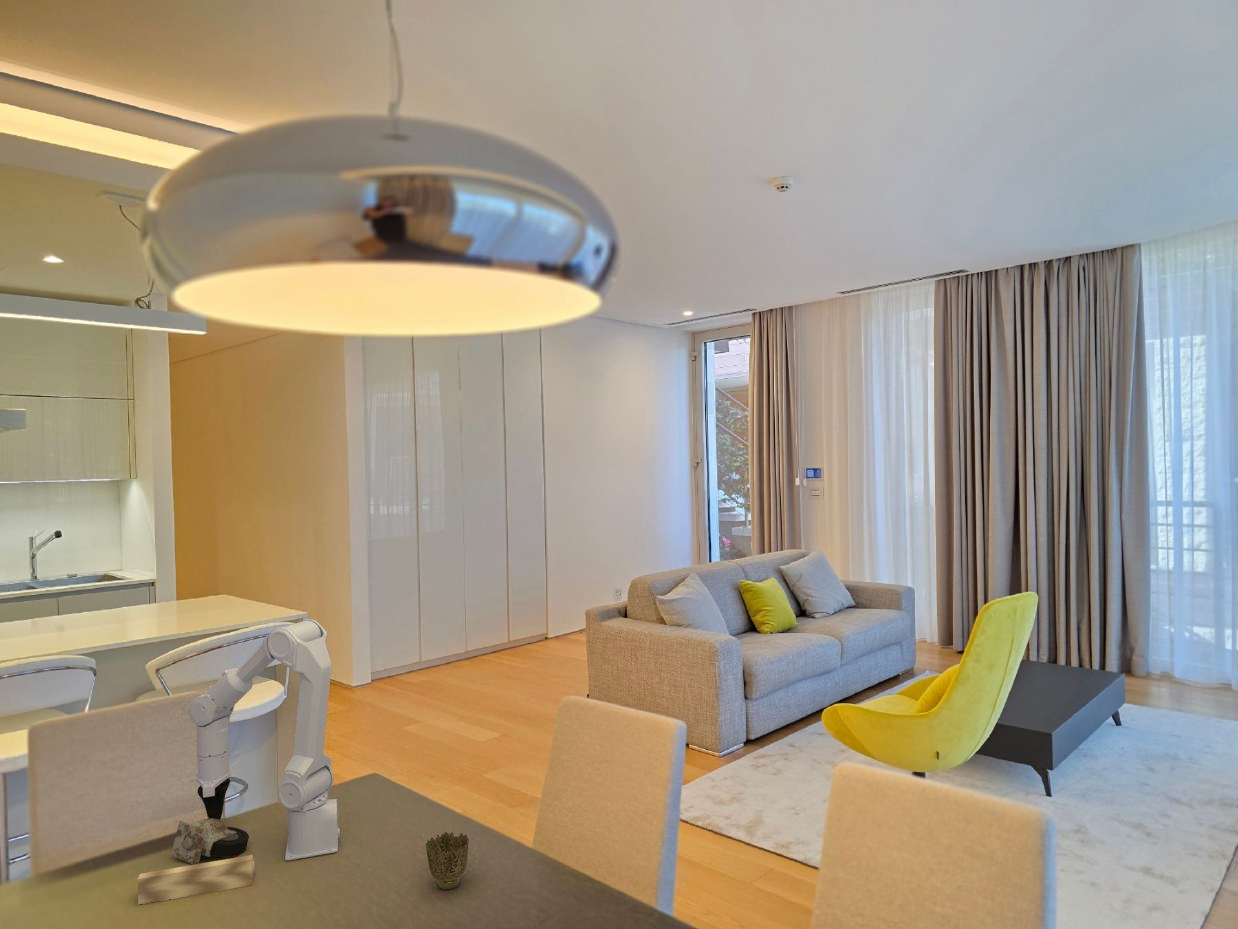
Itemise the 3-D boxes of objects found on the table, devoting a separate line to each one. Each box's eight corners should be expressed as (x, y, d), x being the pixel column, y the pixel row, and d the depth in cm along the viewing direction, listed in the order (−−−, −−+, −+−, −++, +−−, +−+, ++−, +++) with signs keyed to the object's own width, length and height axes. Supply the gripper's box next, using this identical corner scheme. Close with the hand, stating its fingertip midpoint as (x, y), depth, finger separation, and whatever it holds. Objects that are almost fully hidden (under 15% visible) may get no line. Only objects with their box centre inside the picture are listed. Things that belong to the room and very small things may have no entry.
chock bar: (254, 873, 151) (254, 848, 151) (252, 885, 147) (251, 859, 147) (144, 892, 145) (143, 867, 145) (138, 905, 141) (137, 879, 141)
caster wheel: (252, 859, 162) (214, 876, 153) (208, 841, 166) (168, 856, 156) (261, 825, 163) (223, 839, 153) (216, 807, 166) (177, 820, 157)
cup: (477, 878, 146) (476, 834, 146) (456, 900, 139) (455, 852, 139) (441, 873, 149) (440, 829, 149) (418, 893, 142) (417, 847, 142)
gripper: (197, 744, 172) (199, 809, 172) (184, 767, 158) (186, 838, 158) (234, 739, 174) (236, 803, 174) (224, 762, 160) (227, 831, 160)
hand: (215, 819), depth 166 cm, fingers closed
